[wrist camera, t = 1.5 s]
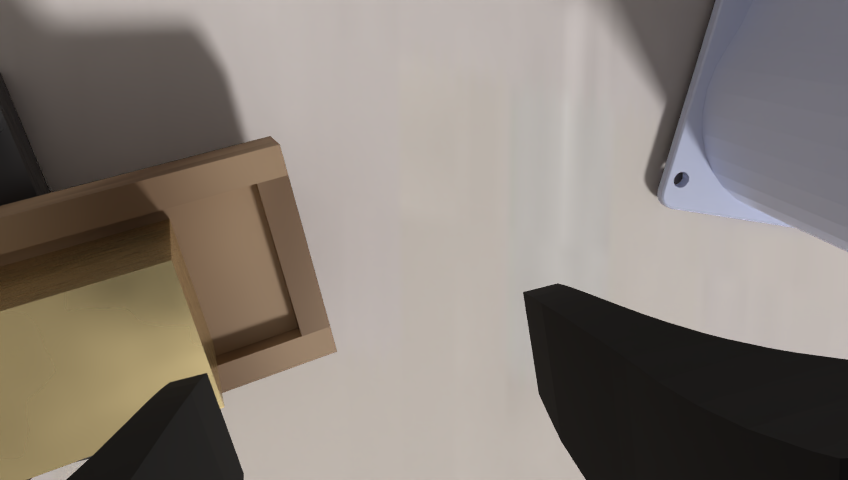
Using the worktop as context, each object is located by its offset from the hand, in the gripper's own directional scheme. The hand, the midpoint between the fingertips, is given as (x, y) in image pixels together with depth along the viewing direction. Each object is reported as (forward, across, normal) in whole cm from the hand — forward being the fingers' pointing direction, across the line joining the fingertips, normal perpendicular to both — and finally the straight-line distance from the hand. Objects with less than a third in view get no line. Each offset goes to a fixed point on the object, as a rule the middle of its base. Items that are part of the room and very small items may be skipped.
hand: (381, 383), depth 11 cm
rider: (+6, +7, 0) cm, 10 cm away
